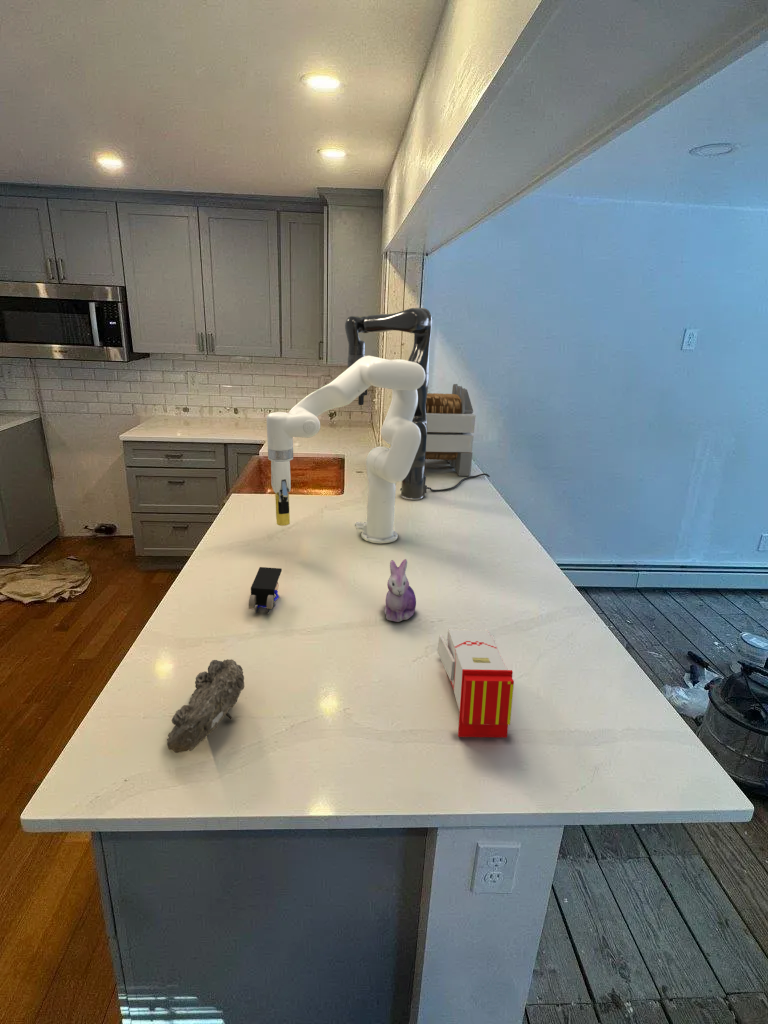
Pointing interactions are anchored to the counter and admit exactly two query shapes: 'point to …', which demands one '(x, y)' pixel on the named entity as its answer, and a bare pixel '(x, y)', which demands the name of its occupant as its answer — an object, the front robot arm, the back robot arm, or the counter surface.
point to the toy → (478, 682)
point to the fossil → (206, 705)
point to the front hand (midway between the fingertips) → (282, 510)
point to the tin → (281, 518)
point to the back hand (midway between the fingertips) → (355, 403)
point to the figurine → (399, 594)
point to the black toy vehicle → (264, 588)
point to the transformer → (450, 429)
